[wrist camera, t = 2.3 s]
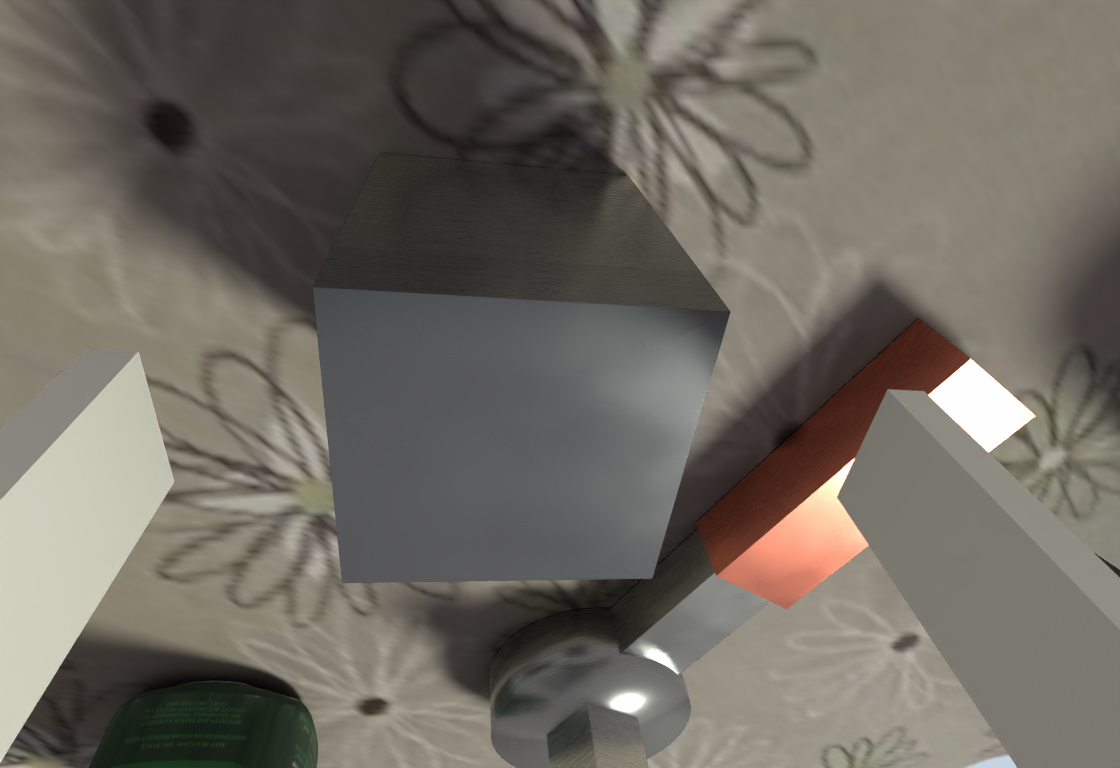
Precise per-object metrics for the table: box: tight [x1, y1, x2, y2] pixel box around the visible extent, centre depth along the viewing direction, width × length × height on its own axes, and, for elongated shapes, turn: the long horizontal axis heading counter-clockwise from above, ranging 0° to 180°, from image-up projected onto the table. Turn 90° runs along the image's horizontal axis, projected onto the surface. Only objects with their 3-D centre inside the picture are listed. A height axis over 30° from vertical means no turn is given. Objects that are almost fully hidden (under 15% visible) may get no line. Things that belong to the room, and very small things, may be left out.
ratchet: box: [490, 319, 1035, 768], centre depth 21 cm, size 23×8×8 cm, turn 143°
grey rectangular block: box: [313, 153, 730, 583], centre depth 14 cm, size 6×6×8 cm
